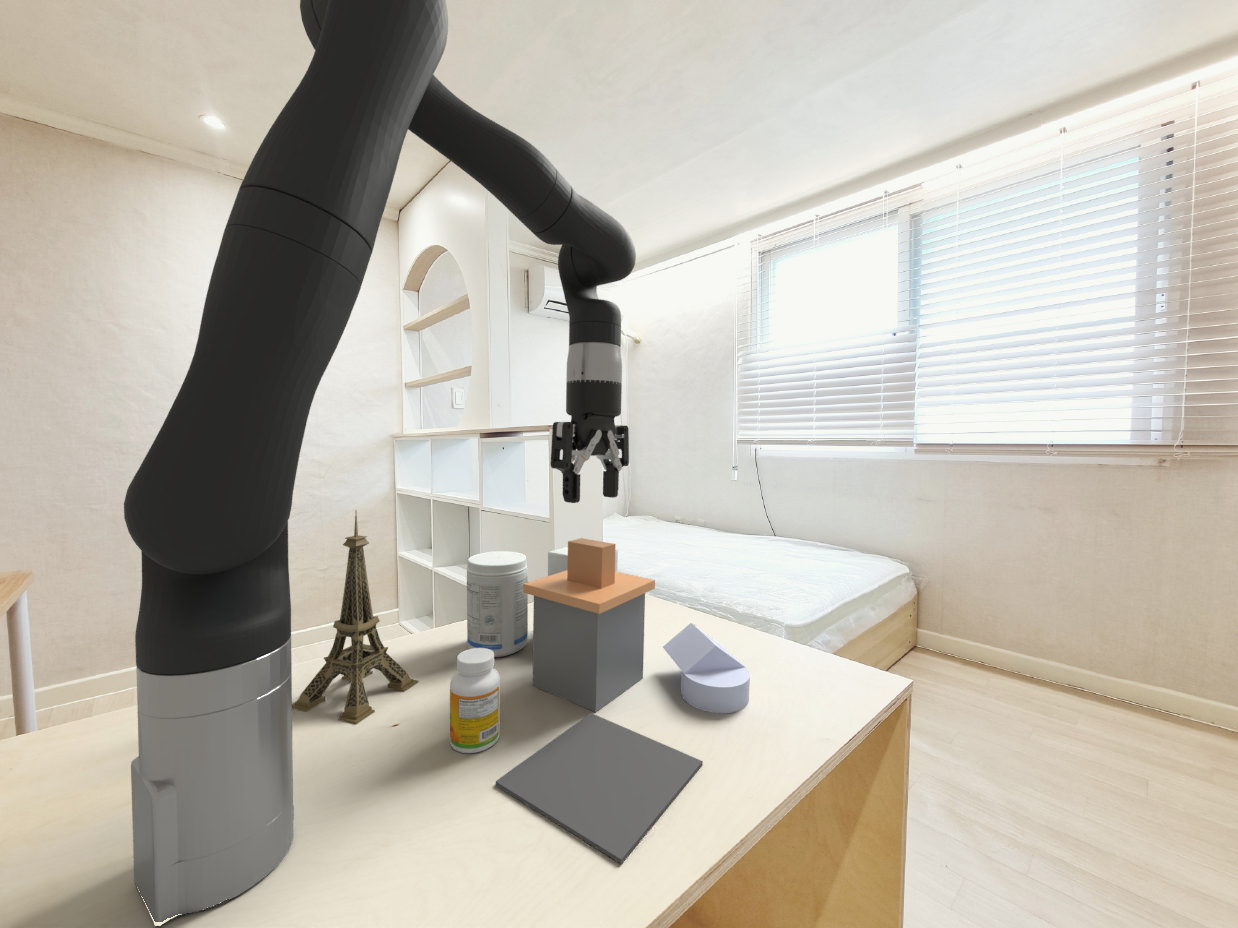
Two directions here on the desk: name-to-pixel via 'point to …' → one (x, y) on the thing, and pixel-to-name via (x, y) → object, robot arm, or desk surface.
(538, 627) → the storage box
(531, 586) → the lid
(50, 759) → the desk surface
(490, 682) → the supplement bottle
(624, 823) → the rubber mat
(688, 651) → the wedge on round base
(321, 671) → the eiffel tower
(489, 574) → the supplement tub
